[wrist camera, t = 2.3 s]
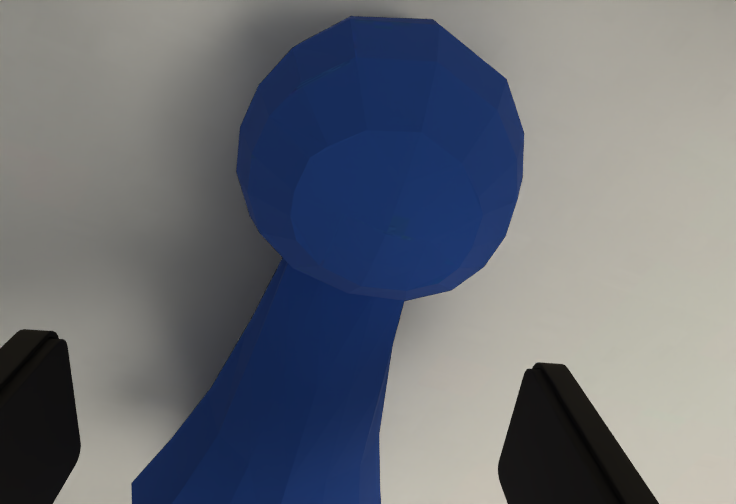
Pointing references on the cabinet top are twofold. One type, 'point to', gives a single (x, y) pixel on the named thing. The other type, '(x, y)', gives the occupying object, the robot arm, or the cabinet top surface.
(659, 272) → the cabinet top surface
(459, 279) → the toy
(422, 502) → the cabinet top surface
